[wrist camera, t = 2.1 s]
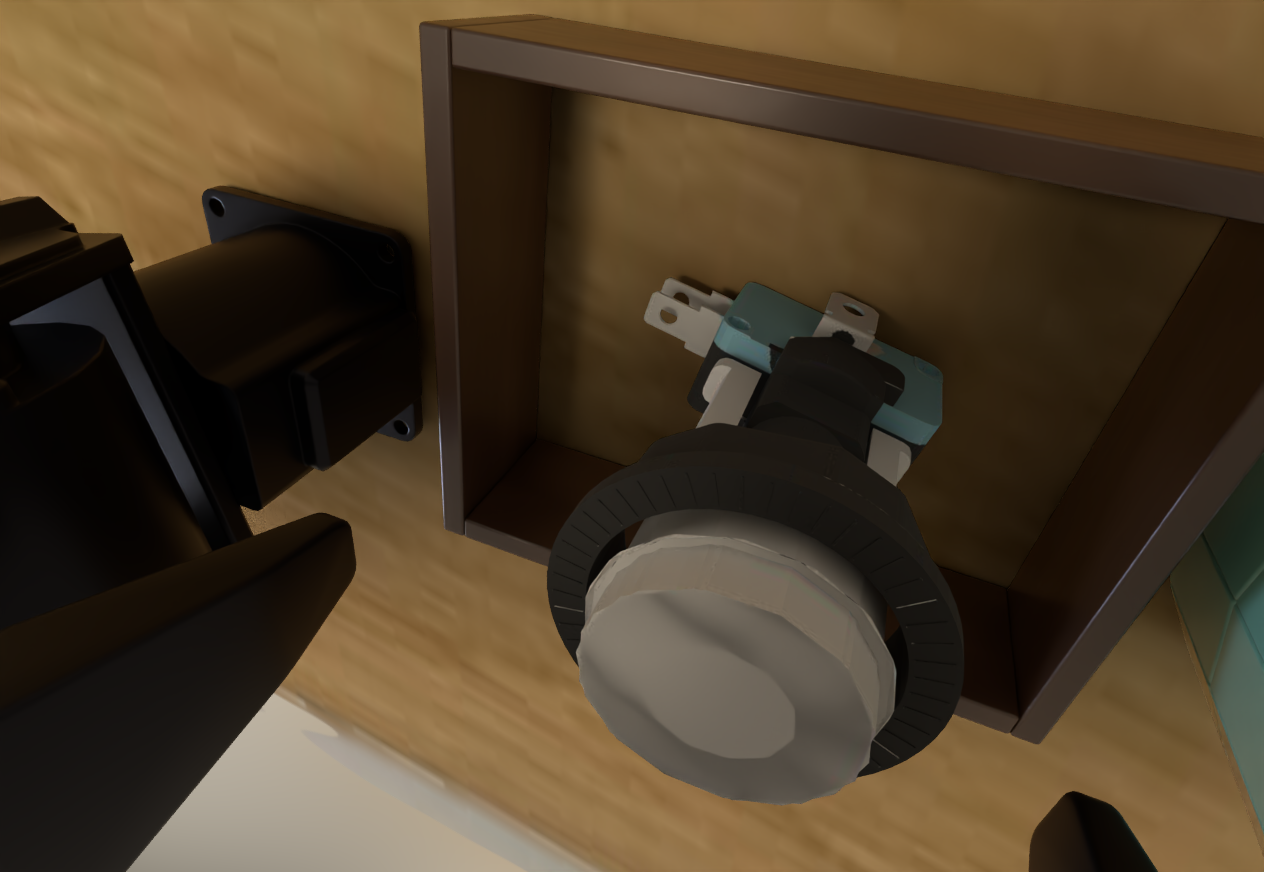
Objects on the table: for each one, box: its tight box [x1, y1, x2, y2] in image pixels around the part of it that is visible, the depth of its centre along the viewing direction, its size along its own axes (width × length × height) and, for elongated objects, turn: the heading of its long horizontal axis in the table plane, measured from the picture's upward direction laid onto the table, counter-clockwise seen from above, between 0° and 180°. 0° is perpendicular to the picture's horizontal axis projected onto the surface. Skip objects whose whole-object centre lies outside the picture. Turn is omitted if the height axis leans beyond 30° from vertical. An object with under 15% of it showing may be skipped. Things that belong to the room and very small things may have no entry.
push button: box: [547, 277, 964, 805], centre depth 12 cm, size 7×5×10 cm
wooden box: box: [419, 14, 1264, 744], centre depth 15 cm, size 14×11×4 cm
